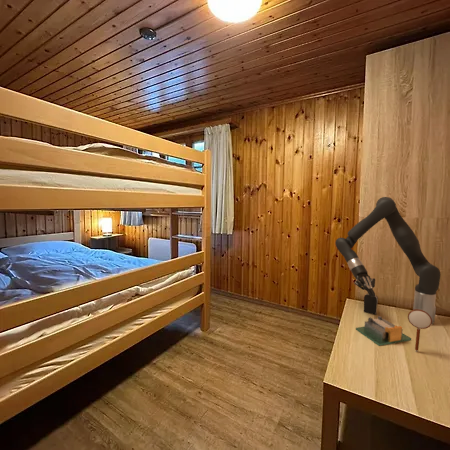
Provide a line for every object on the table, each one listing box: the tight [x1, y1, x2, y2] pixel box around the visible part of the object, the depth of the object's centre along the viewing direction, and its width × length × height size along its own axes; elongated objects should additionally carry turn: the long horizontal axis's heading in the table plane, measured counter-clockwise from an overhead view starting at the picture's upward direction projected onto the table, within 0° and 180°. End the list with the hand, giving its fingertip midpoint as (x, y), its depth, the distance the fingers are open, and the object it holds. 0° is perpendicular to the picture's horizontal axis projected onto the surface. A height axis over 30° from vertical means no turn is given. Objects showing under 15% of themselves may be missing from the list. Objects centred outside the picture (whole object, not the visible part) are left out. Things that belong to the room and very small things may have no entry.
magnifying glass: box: [407, 309, 433, 352], centre depth 114 cm, size 9×2×20 cm, turn 49°
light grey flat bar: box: [372, 317, 392, 329], centre depth 128 cm, size 4×11×1 cm, turn 14°
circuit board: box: [355, 315, 412, 347], centre depth 128 cm, size 19×15×8 cm
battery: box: [363, 293, 379, 316], centre depth 152 cm, size 7×4×11 cm, turn 47°
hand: (373, 296), depth 135 cm, fingers closed
